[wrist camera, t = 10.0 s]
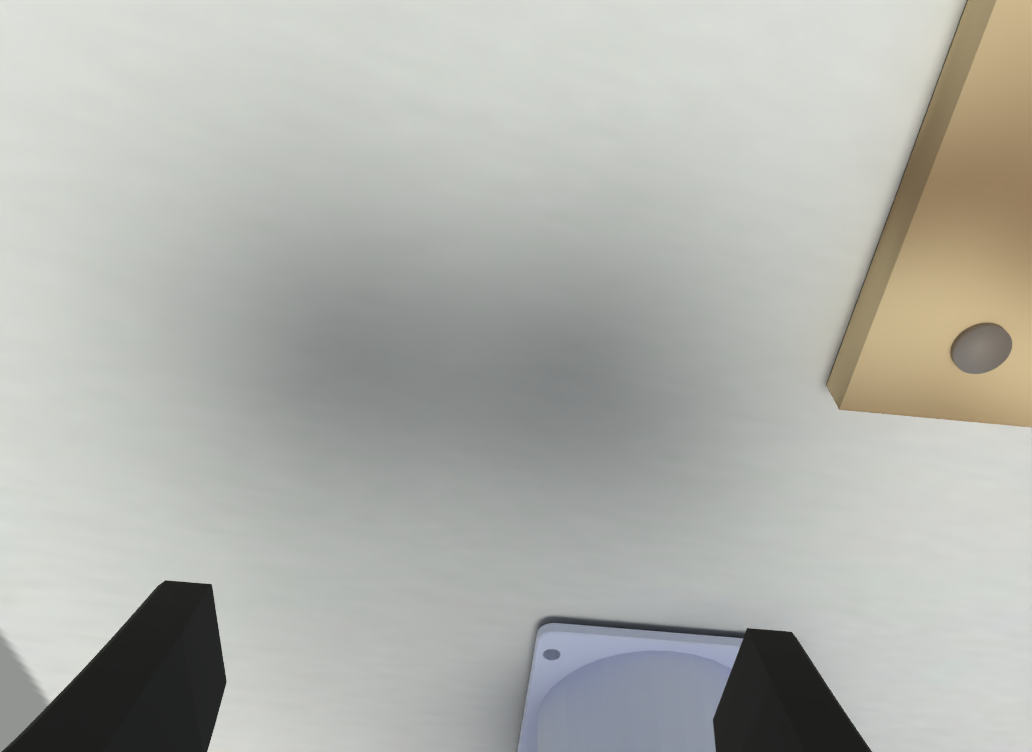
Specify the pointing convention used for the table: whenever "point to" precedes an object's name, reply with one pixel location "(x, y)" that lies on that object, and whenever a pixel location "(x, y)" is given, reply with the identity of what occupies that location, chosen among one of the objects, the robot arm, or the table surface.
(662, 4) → the table surface
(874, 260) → the hinge leaf
